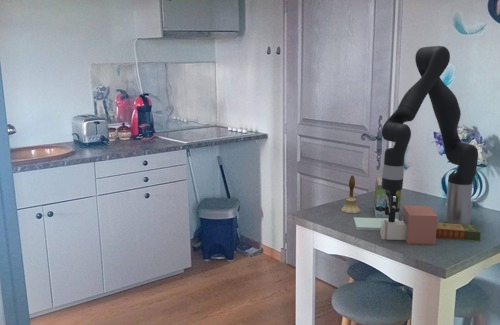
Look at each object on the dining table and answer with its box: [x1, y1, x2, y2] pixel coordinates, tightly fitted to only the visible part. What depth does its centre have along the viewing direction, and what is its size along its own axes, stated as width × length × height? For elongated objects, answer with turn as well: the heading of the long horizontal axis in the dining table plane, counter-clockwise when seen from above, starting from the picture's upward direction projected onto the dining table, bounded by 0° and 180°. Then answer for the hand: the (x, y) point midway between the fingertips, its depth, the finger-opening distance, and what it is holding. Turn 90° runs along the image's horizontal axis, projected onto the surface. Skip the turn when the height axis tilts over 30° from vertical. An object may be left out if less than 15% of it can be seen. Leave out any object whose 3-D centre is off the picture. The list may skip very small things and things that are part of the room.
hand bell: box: [340, 175, 361, 214], centre depth 222 cm, size 8×8×16 cm
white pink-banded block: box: [379, 220, 407, 241], centre depth 191 cm, size 13×4×6 cm, turn 84°
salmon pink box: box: [401, 204, 439, 246], centre depth 189 cm, size 10×12×11 cm
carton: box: [436, 222, 482, 242], centre depth 193 cm, size 8×16×4 cm, turn 79°
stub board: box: [353, 217, 400, 232], centre depth 204 cm, size 18×12×1 cm, turn 84°
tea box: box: [373, 176, 402, 220], centre depth 218 cm, size 15×10×15 cm
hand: (389, 218), depth 190 cm, fingers open, 8 cm apart
